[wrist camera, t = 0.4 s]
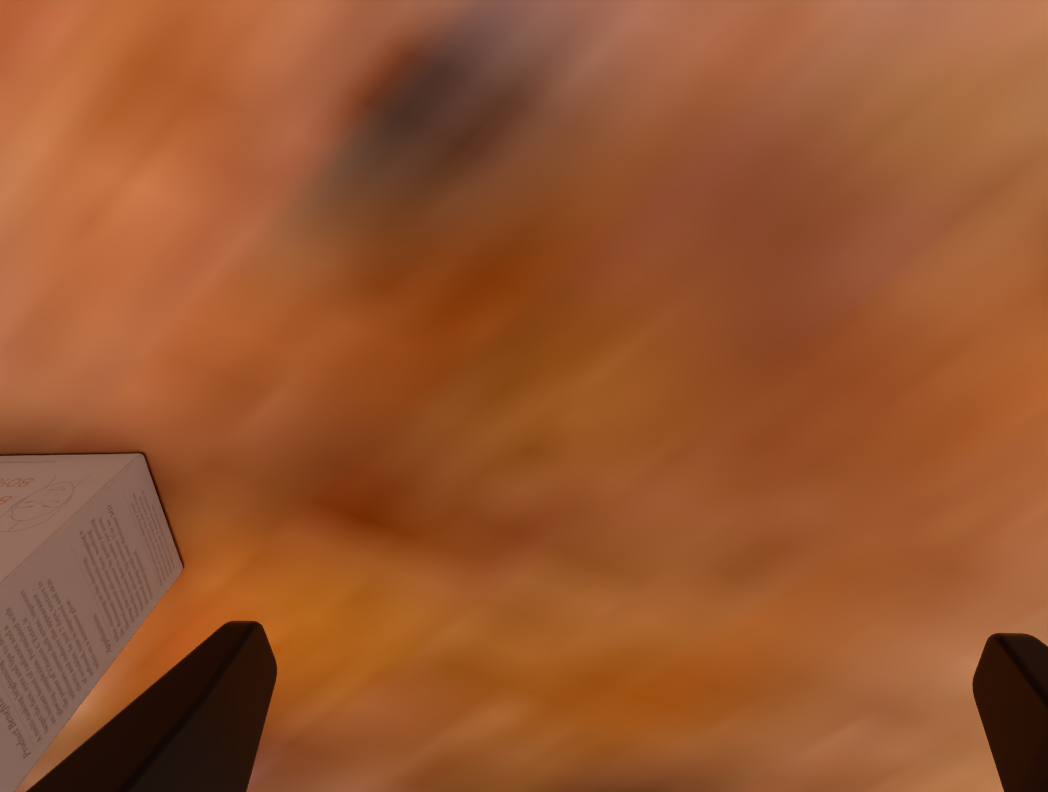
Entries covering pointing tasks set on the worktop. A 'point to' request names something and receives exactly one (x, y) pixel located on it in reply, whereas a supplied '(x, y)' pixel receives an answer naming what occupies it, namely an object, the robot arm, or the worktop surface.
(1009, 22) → the worktop surface
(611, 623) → the worktop surface
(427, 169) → the worktop surface
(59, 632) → the small box
